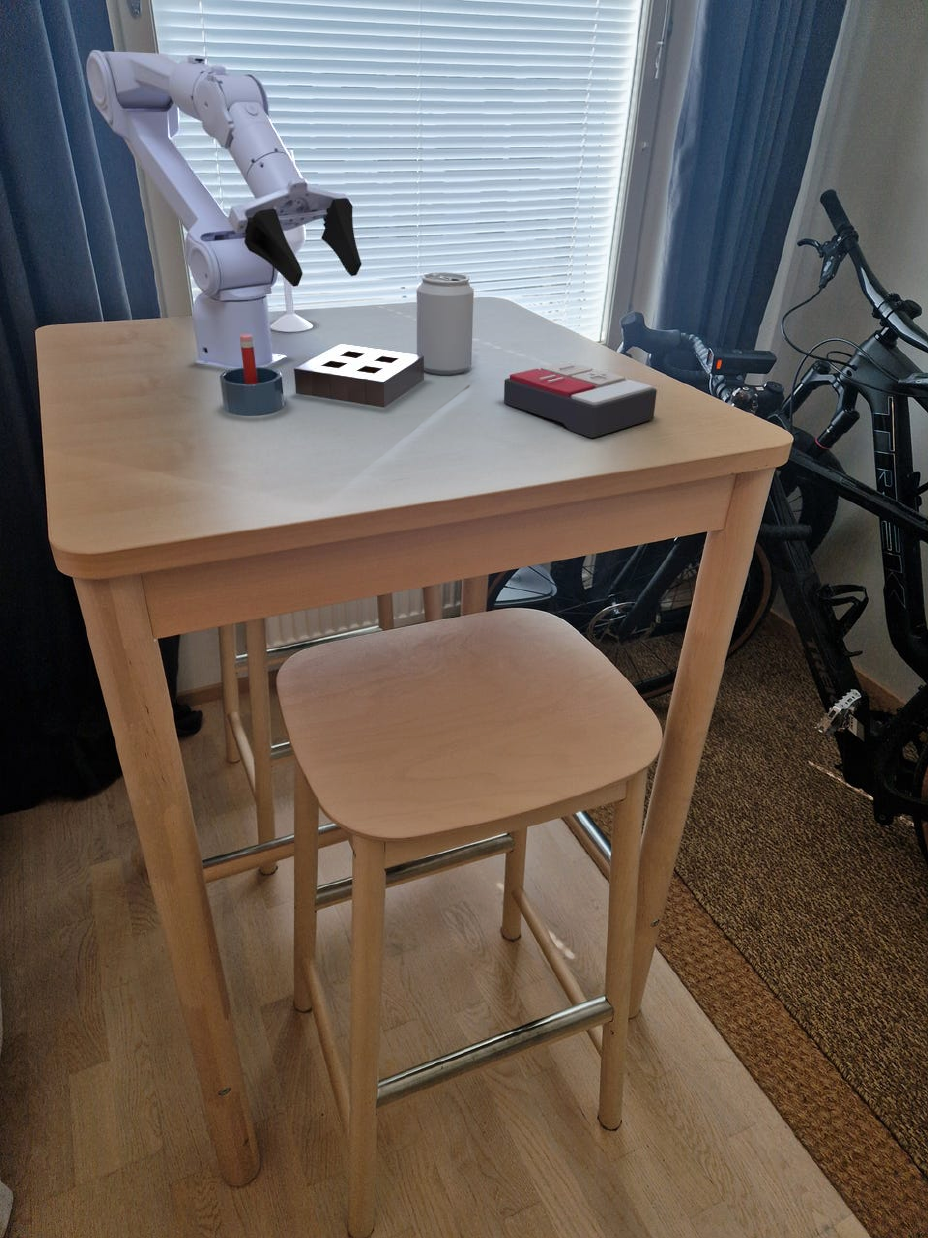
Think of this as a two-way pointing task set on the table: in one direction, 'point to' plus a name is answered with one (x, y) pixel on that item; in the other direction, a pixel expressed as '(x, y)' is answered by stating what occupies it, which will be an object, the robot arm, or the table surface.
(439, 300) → the can
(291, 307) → the champagne flute
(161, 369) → the table surface
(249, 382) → the pencil
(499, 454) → the table surface
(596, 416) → the calculator
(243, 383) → the cup
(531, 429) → the table surface
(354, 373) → the pencil stand
